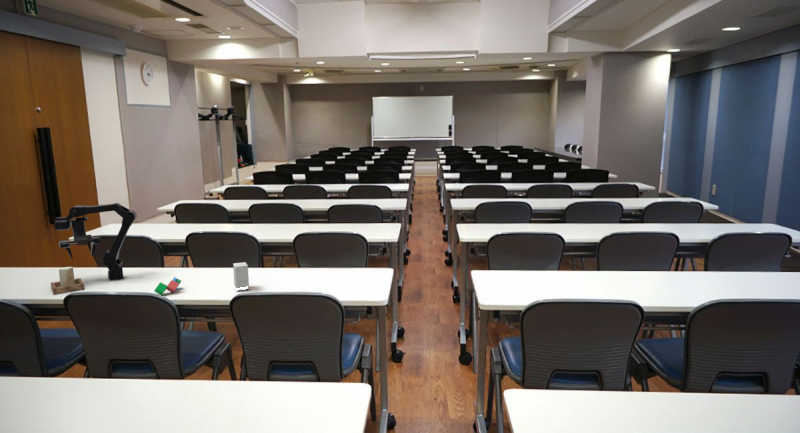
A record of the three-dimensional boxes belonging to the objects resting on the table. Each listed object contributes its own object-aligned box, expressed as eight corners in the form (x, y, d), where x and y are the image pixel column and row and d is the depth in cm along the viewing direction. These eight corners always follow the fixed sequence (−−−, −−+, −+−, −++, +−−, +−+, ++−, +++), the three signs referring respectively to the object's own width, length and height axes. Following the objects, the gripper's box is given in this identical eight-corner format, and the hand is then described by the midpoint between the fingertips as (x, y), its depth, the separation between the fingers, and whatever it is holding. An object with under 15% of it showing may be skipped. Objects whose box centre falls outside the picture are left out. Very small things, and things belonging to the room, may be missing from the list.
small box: (249, 290, 253) (248, 265, 250) (236, 292, 250) (235, 267, 248) (246, 285, 260) (245, 261, 258) (234, 287, 257) (232, 263, 255)
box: (68, 290, 252) (66, 269, 250) (60, 290, 252) (58, 269, 250) (75, 287, 257) (73, 266, 255) (67, 287, 257) (65, 266, 255)
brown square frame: (80, 283, 263) (80, 278, 263) (84, 289, 253) (84, 283, 253) (51, 288, 255) (50, 282, 254) (53, 294, 245) (53, 288, 245)
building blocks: (166, 302, 249) (180, 283, 257) (170, 296, 243) (183, 277, 251) (152, 294, 247) (166, 275, 255) (155, 288, 241) (169, 269, 249)
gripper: (60, 233, 251) (63, 263, 254) (102, 229, 263) (105, 257, 266) (57, 230, 259) (60, 259, 262) (98, 226, 271) (101, 253, 274)
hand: (82, 257), depth 266 cm, fingers open, 9 cm apart
